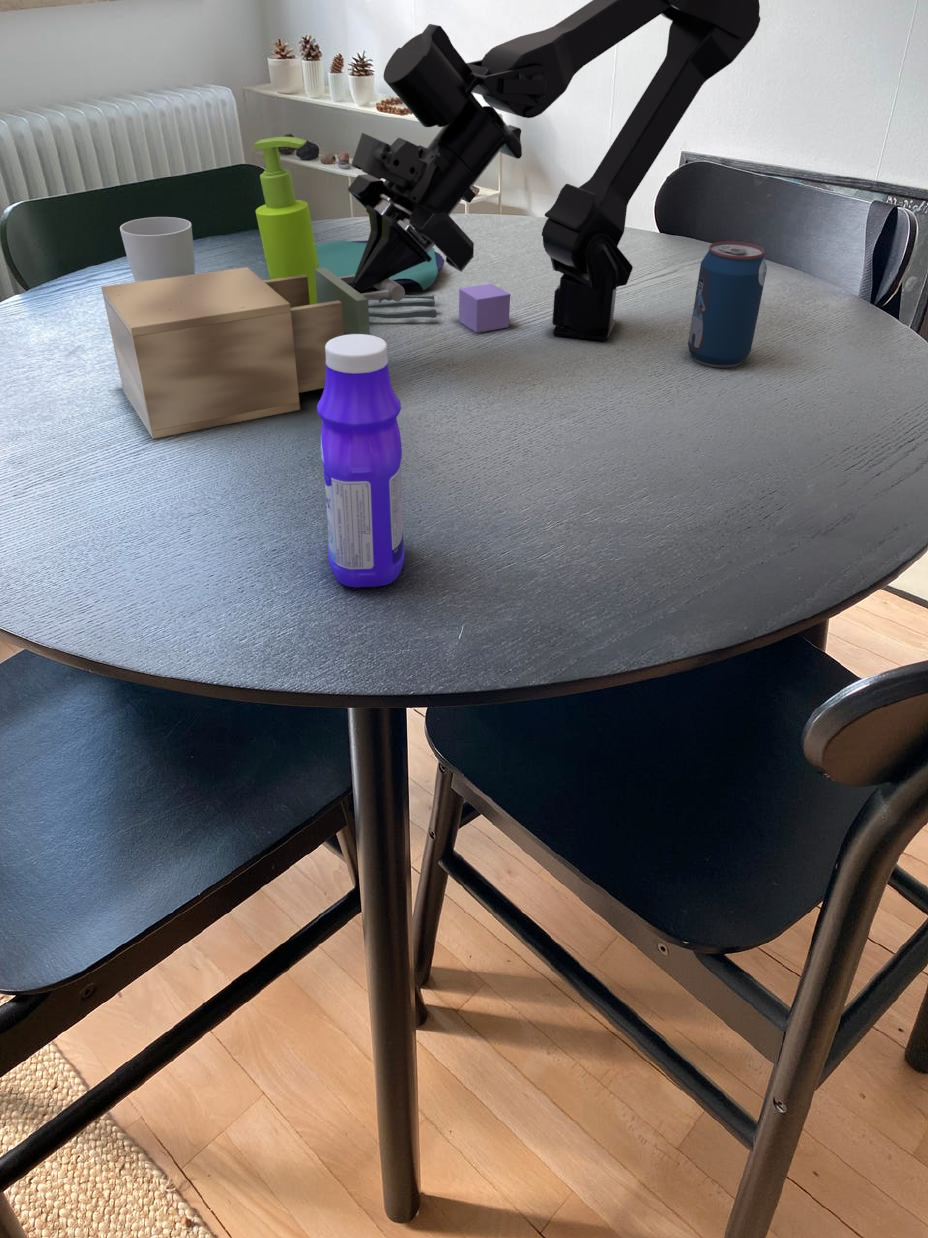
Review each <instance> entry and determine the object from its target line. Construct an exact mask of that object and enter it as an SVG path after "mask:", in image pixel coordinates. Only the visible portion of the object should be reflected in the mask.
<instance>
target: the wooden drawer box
mask: <svg viewBox="0 0 928 1238" xmlns="http://www.w3.org/2000/svg"><path fill="white" fill-rule="evenodd" d="M263 280H264V279H262V278H261V277H260V276H259V275H257V274H256V273H255V272H253V271H252V270H251V268H249V267H247V266H245V267H240V268H231V269H223V270H217V271H216V270H215V271H209V272H202V273H195V274H193V275H185V276H178V277H170V278H163V279H155V280H148V281H140V282H135V281H133V282H127V283H119V284H110V285H105V286H101V293H102V295H103V296H102V297H103V302H104V307H105V311H106V316H107V320H108V326H109V331H110V335H111V340H112V344H113V349H114V354H115V359H116V363H117V369H118V373H119V378H120V382H121V388H122V391H123V393H124V394H125V397H126V398H127V400H128V401H129V403H130V404H131V406H132V407H133V409H134V410H135V412H136V414H137V415H138V417H139V419H140V421H141V422H142V424H143V426H144V427H145V428H146V431H147V432H148V433H149V435H150V437H151V438H152V440H156V439H159V438H166V437H170V436H176V435H179V434H186V433H190V432H194V431H200V430H206V429H211V428H215V427H220V426H221V427H222V426H225V425H231V424H236V423H241V422H245V421H251V420H255V419H260V418H265V417H270V416H276V415H281V414H286V413H291V412H296V411H300V410H301V406H300V405H301V403H300V394H299V393H298V383H297V372H296V362H295V351H294V340H293V330H292V319H291V309H290V303H288V302H287V301H286V300H285V299H284V298H283V297H281V296H280V295H279V294H278V293H277V292H276V291H274V290H273V289H272V288H271V287H270V286H269V285H267V284H266V283H265V282H264V281H263Z"/></svg>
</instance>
